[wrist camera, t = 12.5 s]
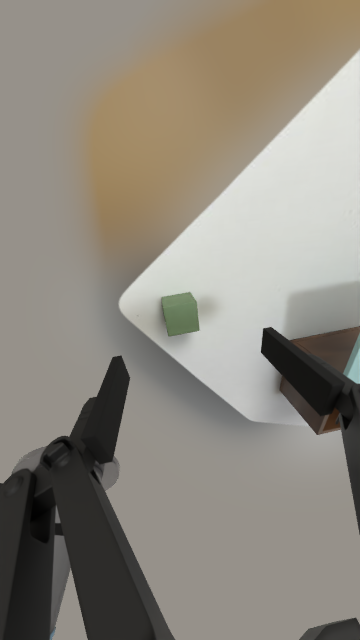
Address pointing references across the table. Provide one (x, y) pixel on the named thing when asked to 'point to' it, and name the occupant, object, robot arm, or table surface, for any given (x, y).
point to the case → (335, 353)
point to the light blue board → (354, 363)
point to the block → (180, 314)
